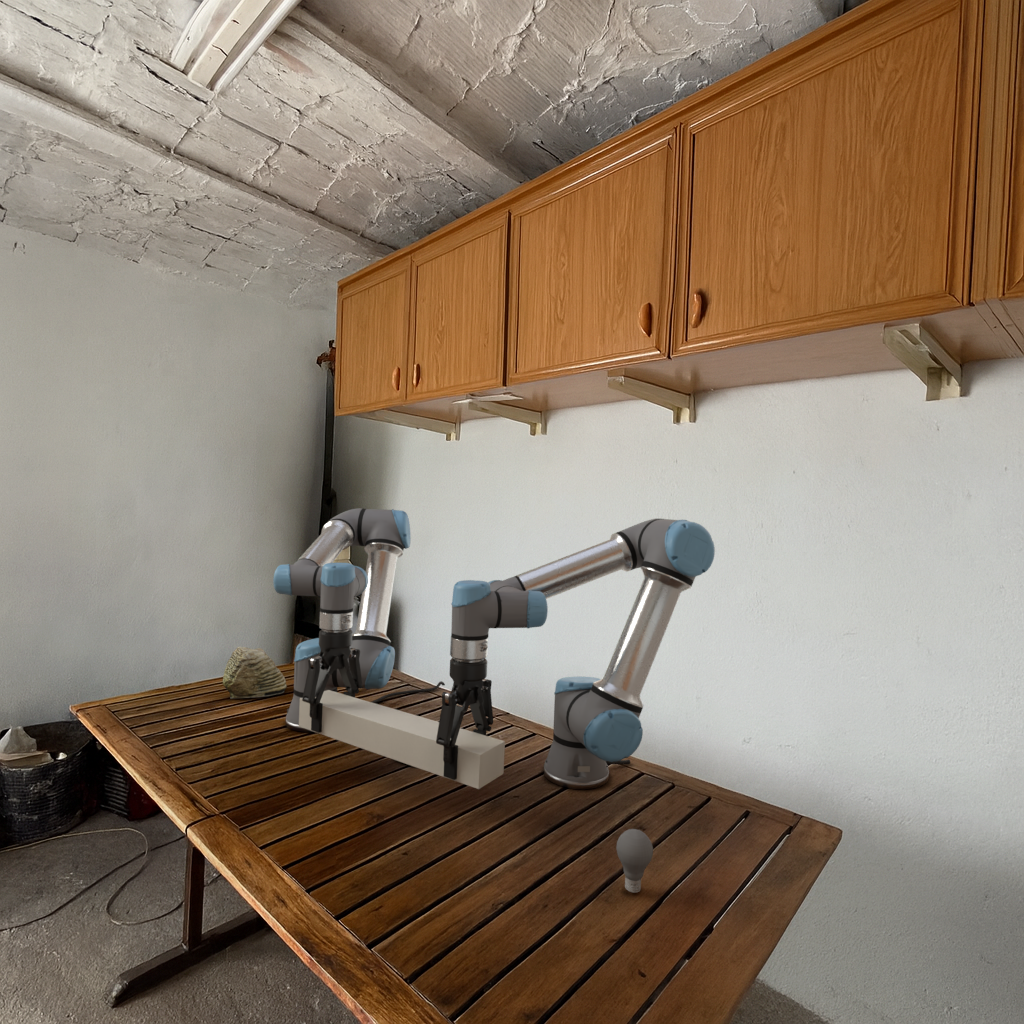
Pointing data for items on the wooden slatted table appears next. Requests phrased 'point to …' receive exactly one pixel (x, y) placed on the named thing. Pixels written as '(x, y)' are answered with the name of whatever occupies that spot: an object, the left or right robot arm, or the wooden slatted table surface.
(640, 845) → the light bulb
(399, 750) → the thick board
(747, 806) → the wooden slatted table surface
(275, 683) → the fossil
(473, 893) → the wooden slatted table surface
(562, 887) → the wooden slatted table surface
